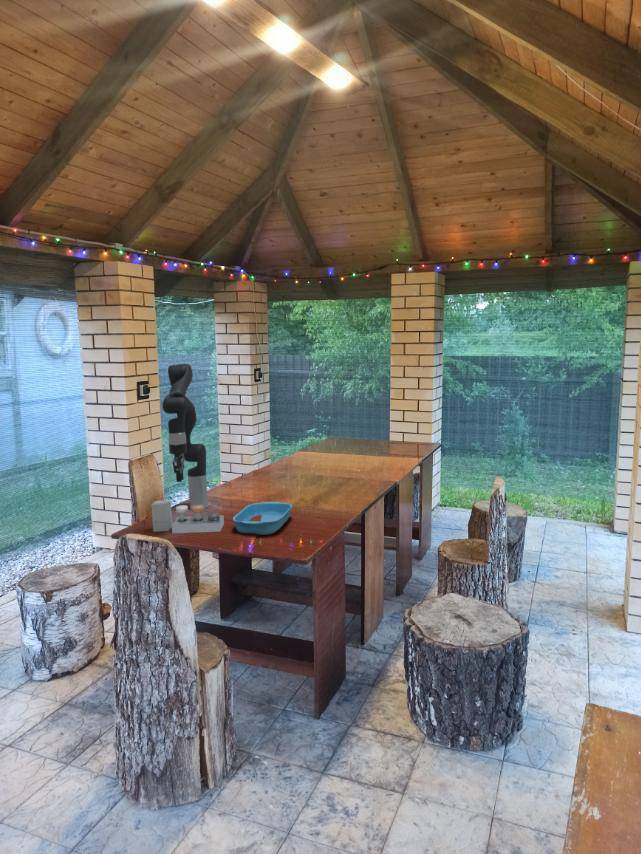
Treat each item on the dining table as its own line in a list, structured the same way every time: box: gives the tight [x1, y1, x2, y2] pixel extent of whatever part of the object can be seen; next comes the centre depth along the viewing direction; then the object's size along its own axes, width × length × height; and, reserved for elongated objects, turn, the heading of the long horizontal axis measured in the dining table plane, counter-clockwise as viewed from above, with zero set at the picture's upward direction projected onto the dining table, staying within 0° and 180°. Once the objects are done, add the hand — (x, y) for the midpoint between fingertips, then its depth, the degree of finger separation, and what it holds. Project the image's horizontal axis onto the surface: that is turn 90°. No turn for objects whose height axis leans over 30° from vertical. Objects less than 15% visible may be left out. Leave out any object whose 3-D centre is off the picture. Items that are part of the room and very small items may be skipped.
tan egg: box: [191, 505, 205, 521], centre depth 263 cm, size 5×5×7 cm
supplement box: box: [150, 499, 173, 533], centre depth 267 cm, size 7×7×13 cm
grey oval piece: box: [175, 504, 189, 522], centre depth 263 cm, size 5×5×7 cm
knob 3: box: [207, 512, 221, 520], centre depth 264 cm, size 5×5×7 cm
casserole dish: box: [232, 501, 293, 536], centre depth 268 cm, size 37×22×7 cm, turn 169°
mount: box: [171, 514, 225, 534], centre depth 264 cm, size 12×21×5 cm, turn 91°
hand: (180, 480), depth 261 cm, fingers open, 3 cm apart
